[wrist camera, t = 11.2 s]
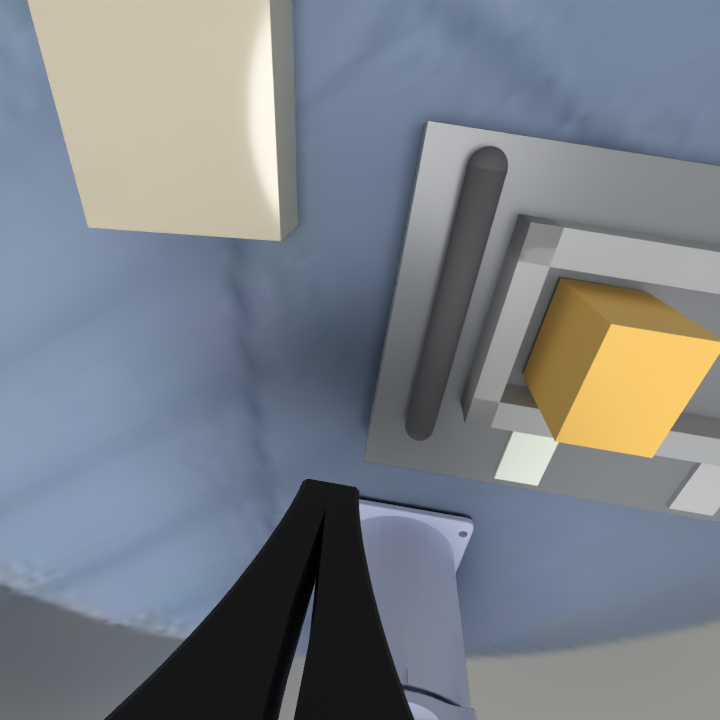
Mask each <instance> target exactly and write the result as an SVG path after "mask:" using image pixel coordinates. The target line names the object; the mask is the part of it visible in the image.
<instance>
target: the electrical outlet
mask: <svg viewBox="0 0 720 720" xmlns="http://www.w3.org/2000/svg"><path fill="white" fill-rule="evenodd" d="M28 4H29V8H30V12H31V15H32V19H33V23H34V27H35V30H36V34H37V38H38V42H39V45H40V49H41V53H42V56H43V60H44V64H45V68H46V71H47V75H48V79H49V83H50V86H51V90H52V94H53V98H54V101H55V105H56V109H57V113H58V116H59V120H60V124H61V127H62V131H63V135H64V139H65V142H66V146H67V150H68V154H69V157H70V161H71V165H72V169H73V172H74V176H75V180H76V183H77V187H78V191H79V195H80V198H81V202H82V206H83V210H84V213H85V217H86V221H87V225H88V227H89V228H103V229H117V230H131V231H145V232H159V233H173V234H187V235H202V236H216V237H230V238H244V239H258V240H272V241H282V240H283V239H284V238H285V237H286V236H287V235H289V234H290V233H291V232H292V231H293V230H294V229H296V228H297V227H298V191H297V151H296V112H295V72H294V32H293V1H292V0H28Z"/></svg>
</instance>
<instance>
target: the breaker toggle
mask: <svg viewBox="0 0 720 720" xmlns="http://www.w3.org/2000/svg"><path fill="white" fill-rule="evenodd" d="M719 354H720V339H719V338H718V337H716V336H715V335H713V334H712V333H710V332H709V331H707V330H706V329H704V328H702V327H701V326H699V325H698V324H696V323H695V322H693V321H692V320H690V319H688V318H687V317H685V316H684V315H682V314H681V313H679V312H678V311H676V310H675V309H673V308H671V307H670V306H668V305H667V304H665V303H664V302H662V301H661V300H659V299H658V298H656V297H654V296H653V295H651V294H650V293H648V292H645V291H639V290H633V289H627V288H621V287H615V286H608V285H602V284H596V283H590V282H584V281H577V280H571V279H565V278H560V280H559V283H558V285H557V288H556V291H555V293H554V296H553V298H552V301H551V303H550V306H549V309H548V311H547V314H546V316H545V319H544V321H543V324H542V327H541V329H540V332H539V334H538V337H537V339H536V342H535V345H534V347H533V350H532V352H531V355H530V358H529V360H528V363H527V365H526V368H525V370H524V373H523V377H524V379H525V381H526V383H527V385H528V387H529V390H530V392H531V394H532V396H533V398H534V400H535V402H536V404H537V406H538V408H539V410H540V412H541V414H542V416H543V418H544V420H545V422H546V424H547V426H548V428H549V430H550V432H551V434H552V436H553V439H554V441H555V442H561V443H566V444H572V445H578V446H584V447H590V448H596V449H602V450H608V451H614V452H620V453H626V454H631V455H637V456H643V457H649V458H653V456H654V454H655V453H656V451H657V450H658V448H659V447H660V445H661V444H662V442H663V440H664V439H665V437H666V436H667V434H668V433H669V431H670V430H671V428H672V427H673V425H674V423H675V422H676V420H677V419H678V417H679V416H680V414H681V413H682V411H683V410H684V408H685V406H686V405H687V403H688V402H689V400H690V399H691V397H692V396H693V394H694V392H695V391H696V389H697V388H698V386H699V385H700V383H701V382H702V380H703V379H704V377H705V375H706V374H707V372H708V371H709V369H710V368H711V366H712V365H713V363H714V362H715V360H716V358H717V357H718V355H719Z"/></svg>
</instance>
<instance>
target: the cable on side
mask: <svg viewBox="0 0 720 720" xmlns="http://www.w3.org/2000/svg"><path fill="white" fill-rule="evenodd" d="M507 171H508V160H507V157H506V155H505V153H504V152H503V151H502V150H501V149H499V148H497V147H494V146H486V147H483V148H480V149H479V150H477V151H476V152H475V153H474V154H473V155H472V156H471V158H470V160H469V162H468V165H467V169H466V173H465V178H464V182H463V186H462V190H461V194H460V198H459V203H458V207H457V211H456V215H455V219H454V223H453V228H452V232H451V236H450V240H449V244H448V248H447V253H446V257H445V261H444V265H443V269H442V273H441V278H440V282H439V286H438V290H437V294H436V298H435V303H434V307H433V311H432V315H431V319H430V323H429V328H428V332H427V336H426V340H425V344H424V348H423V353H422V357H421V361H420V365H419V369H418V373H417V378H416V382H415V386H414V390H413V394H412V398H411V403H410V407H409V411H408V415H407V419H406V424H405V429H406V432H407V434H408V435H409V437H410V438H412V439H414V440H416V441H423V440H426V439H428V438H429V437H430V436H431V435H432V433H433V430H434V427H435V423H436V420H437V416H438V413H439V409H440V406H441V402H442V399H443V395H444V392H445V388H446V385H447V381H448V378H449V374H450V371H451V367H452V364H453V360H454V357H455V353H456V350H457V346H458V343H459V339H460V336H461V332H462V329H463V325H464V322H465V318H466V315H467V311H468V308H469V304H470V301H471V297H472V294H473V290H474V287H475V283H476V280H477V276H478V273H479V269H480V266H481V262H482V259H483V255H484V252H485V248H486V245H487V241H488V238H489V234H490V231H491V227H492V224H493V220H494V217H495V213H496V210H497V206H498V203H499V199H500V196H501V192H502V189H503V185H504V182H505V178H506V175H507Z"/></svg>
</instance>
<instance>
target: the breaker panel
mask: <svg viewBox="0 0 720 720" xmlns="http://www.w3.org/2000/svg"><path fill="white" fill-rule="evenodd" d="M486 146H494V147H497V148H499V149H501V150H502V151H503V152H504V153H505V155H506V157H507V160H508V171H507V175H506V178H505V182H504V185H503V189H502V192H501V196H500V199H499V203H498V206H497V210H496V213H495V217H494V220H493V224H492V227H491V231H490V234H489V238H488V241H487V245H486V248H485V252H484V255H483V259H482V262H481V266H480V269H479V273H478V276H477V280H476V283H475V287H474V290H473V294H472V297H471V301H470V304H469V308H468V311H467V315H466V318H465V322H464V325H463V329H462V332H461V336H460V339H459V343H458V346H457V350H456V353H455V357H454V360H453V364H452V367H451V371H450V374H449V378H448V381H447V385H446V388H445V392H444V395H443V399H442V402H441V406H440V409H439V413H438V416H437V420H436V423H435V427H434V430H433V433H432V435H431V436H430V437H429V438H428V439H426V440H423V441H416V440H414V439H412V438H410V437H409V435H408V434H407V432H406V429H405V424H406V419H407V415H408V411H409V407H410V403H411V398H412V394H413V390H414V386H415V382H416V378H417V373H418V369H419V365H420V361H421V357H422V353H423V348H424V344H425V340H426V336H427V332H428V328H429V323H430V319H431V315H432V311H433V307H434V303H435V298H436V294H437V290H438V286H439V282H440V278H441V273H442V269H443V265H444V261H445V257H446V253H447V248H448V244H449V240H450V236H451V232H452V228H453V223H454V219H455V215H456V211H457V207H458V203H459V198H460V194H461V190H462V186H463V182H464V178H465V173H466V169H467V165H468V162H469V160H470V158H471V156H472V155H473V154H474V153H475V152H476V151H477V150H479V149H480V148H483V147H486ZM560 278H565V279H571V280H577V281H584V282H590V283H596V284H602V285H608V286H615V287H621V288H627V289H633V290H639V291H645V292H648V293H650V294H651V295H653V296H654V297H656V298H658V299H659V300H661V301H662V302H664V303H665V304H667V305H668V306H670V307H671V308H673V309H675V310H676V311H678V312H679V313H681V314H682V315H684V316H685V317H687V318H688V319H690V320H692V321H693V322H695V323H696V324H698V325H699V326H701V327H702V328H704V329H706V330H707V331H709V332H710V333H712V334H713V335H715V336H716V337H718V338H719V339H720V166H714V165H708V164H701V163H695V162H689V161H682V160H676V159H669V158H663V157H656V156H650V155H644V154H637V153H631V152H624V151H618V150H611V149H605V148H599V147H592V146H586V145H579V144H573V143H566V142H560V141H554V140H547V139H541V138H534V137H528V136H522V135H515V134H509V133H502V132H496V131H489V130H483V129H477V128H470V127H464V126H457V125H451V124H444V123H438V122H432V121H427V122H426V123H425V125H424V130H423V136H422V141H421V146H420V152H419V157H418V163H417V168H416V173H415V179H414V184H413V189H412V195H411V200H410V206H409V211H408V216H407V222H406V227H405V233H404V238H403V243H402V249H401V254H400V260H399V265H398V270H397V276H396V281H395V287H394V292H393V297H392V303H391V308H390V314H389V319H388V324H387V330H386V335H385V341H384V346H383V351H382V357H381V362H380V368H379V373H378V378H377V384H376V389H375V395H374V400H373V405H372V411H371V416H370V422H369V427H368V434H367V442H366V450H365V458H364V461H365V462H371V463H376V464H382V465H388V466H394V467H400V468H406V469H411V470H417V471H423V472H429V473H435V474H441V475H446V476H452V477H458V478H464V479H470V480H476V481H481V482H487V483H493V484H499V485H505V486H511V487H516V488H522V489H528V490H534V491H540V492H546V493H551V494H557V495H563V496H569V497H575V498H581V499H586V500H592V501H598V502H604V503H610V504H616V505H621V506H627V507H633V508H639V509H645V510H650V511H656V512H662V513H668V514H674V515H680V516H685V517H691V518H697V519H703V520H709V521H715V522H720V354H719V355H718V357H717V358H716V360H715V362H714V363H713V365H712V366H711V368H710V369H709V371H708V372H707V374H706V375H705V377H704V379H703V380H702V382H701V383H700V385H699V386H698V388H697V389H696V391H695V392H694V394H693V396H692V397H691V399H690V400H689V402H688V403H687V405H686V406H685V408H684V410H683V411H682V413H681V414H680V416H679V417H678V419H677V420H676V422H675V423H674V425H673V427H672V428H671V430H670V431H669V433H668V434H667V436H666V437H665V439H664V440H663V442H662V444H661V445H660V447H659V448H658V450H657V451H656V453H655V454H654V456H653V458H649V457H643V456H637V455H631V454H626V453H620V452H614V451H608V450H602V449H596V448H590V447H584V446H578V445H572V444H566V443H561V442H555V441H554V439H553V436H552V434H551V432H550V430H549V428H548V426H547V424H546V422H545V420H544V418H543V416H542V414H541V412H540V410H539V408H538V406H537V404H536V402H535V400H534V398H533V396H532V394H531V392H530V390H529V387H528V385H527V383H526V381H525V379H524V377H523V373H524V370H525V368H526V365H527V363H528V360H529V358H530V355H531V352H532V350H533V347H534V345H535V342H536V339H537V337H538V334H539V332H540V329H541V327H542V324H543V321H544V319H545V316H546V314H547V311H548V309H549V306H550V303H551V301H552V298H553V296H554V293H555V291H556V288H557V285H558V283H559V280H560Z"/></svg>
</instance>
